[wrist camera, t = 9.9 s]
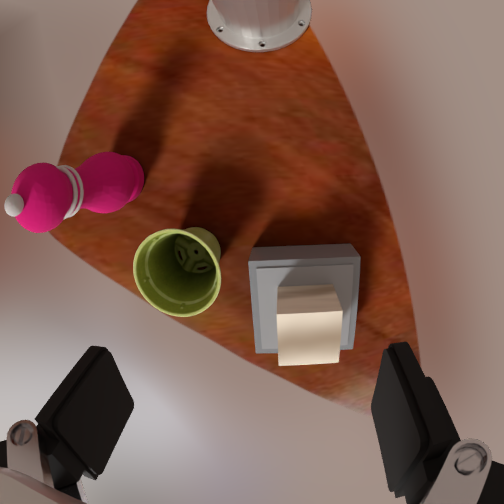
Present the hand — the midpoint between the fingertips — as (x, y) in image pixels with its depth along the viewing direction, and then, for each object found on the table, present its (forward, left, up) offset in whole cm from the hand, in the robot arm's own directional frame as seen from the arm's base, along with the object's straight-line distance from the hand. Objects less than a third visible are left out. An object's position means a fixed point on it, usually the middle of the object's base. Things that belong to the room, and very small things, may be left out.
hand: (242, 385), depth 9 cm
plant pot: (+3, -9, -28) cm, 29 cm away
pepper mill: (-7, -18, -28) cm, 34 cm away
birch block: (+9, +4, -22) cm, 24 cm away
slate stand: (+9, +4, -28) cm, 29 cm away
